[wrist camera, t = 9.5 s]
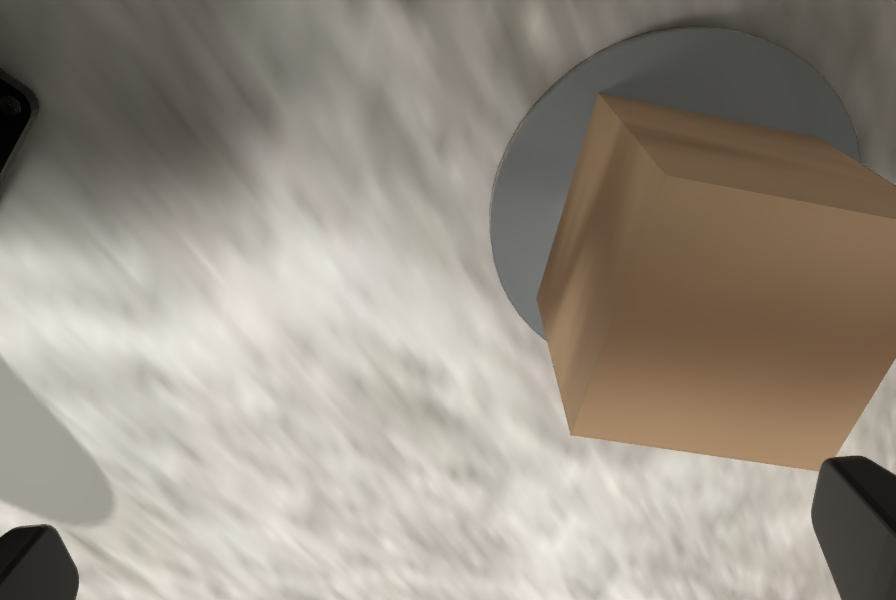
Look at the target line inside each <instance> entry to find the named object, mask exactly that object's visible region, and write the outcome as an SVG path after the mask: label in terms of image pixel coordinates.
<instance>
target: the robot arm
mask: <svg viewBox="0 0 896 600" xmlns="http://www.w3.org/2000/svg"><path fill="white" fill-rule="evenodd" d="M8 96H11V97H14V98H15V99H16V100H17V101H18V102H19V103H20V106H21V112H18V111H16V110H14V109H13V108H12V107H11V106H10V105H9V102H8ZM38 110H39V104H38V99H37V98H36V96H35V94H34V93H33V92H32V91H31V90H30V89H29V88H28V87H27V86H25V85H24V84H22V83H21V82H19V81H18V80H16V79H15V78H13V77H12V76H10V75H9V74H7V73H6V72H4V71H3V70H1V69H0V183H1V181H2V179H3V177H4V175H5V174H6V172H7V170H8V168H9V166H10V164H11V162H12V161H13V159H14V157H15V155H16V153H17V151H18V149H19V148H20V146H21V144H22V142H23V140H24V138H25V136H26V135H27V133H28V131H29V129H30V127H31V125H32V123H33V122H34V120H35V118H36V116H37V114H38ZM811 517H812V524H813V528H814V531H815V534H816V536H817V539H818V541H819V544H820V546H821V549H822V551H823V554H824V556H825V559H826V562H827V564H828V567H829V569H830V572H831V574H832V577H833V579H834V582H835V584H836V587H837V589H838V592H839V595H840V597H841V600H896V475H895V474H893V473H891V472H890V471H888V470H886V469H885V468H883V467H882V466H880V465H878V464H877V463H875V462H873V461H872V460H870V459H868V458H866V457H863V456H845V457H833V458H828V459H826V460H825V461H824V462H823V463H822V464H821V467H820V471H819V475H818V480H817V485H816V489H815V494H814V499H813V503H812V509H811ZM78 587H79V575H78V570H77V568H76V565H75V563H74V562H73V560H72V558H71V556H70V554H69V552H68V550H67V548H66V546H65V544H64V543H63V541H62V539H61V537H60V535H59V533H58V531H57V530H56V529H55V528H54V527H52V526H51V525H47V524H40V525H29V526H19V527H16V528H13V529H11V530H10V531H8V532H7V533H5V534H4V535H3V536H1V537H0V600H76V596H77V592H78Z"/></svg>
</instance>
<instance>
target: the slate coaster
mask: <svg viewBox="0 0 896 600" xmlns="http://www.w3.org/2000/svg"><path fill="white" fill-rule="evenodd" d="M598 93H600V94H605V95H610V96H615V97H620V98H625V99H630V100H635V101H640V102H645V103H650V104H654V105H659V106H664V107H669V108H674V109H679V110H684V111H689V112H694V113H699V114H704V115H709V116H713V117H718V118H723V119H728V120H733V121H738V122H743V123H748V124H753V125H758V126H763V127H768V128H772V129H777V130H782V131H787V132H792V133H797V134H802V135H807V136H812V137H817V138H820V139H822V140H824V141H825V142H827V143H828V144H830V145H832V146H833V147H835V148H836V149H838V150H839V151H841V152H843V153H844V154H846V155H847V156H849V157H851V158H852V159H854V160H855V161H857V162H858V163H860V155H859V149H858V143H857V137H856V134H855V131H854V128H853V126H852V123H851V120H850V117H849V115H848V113H847V111H846V109H845V107H844V105H843V104H842V102H841V100H840V98H839V96H838V95H837V94H836V92H835V91H834V90H833V89H832V87H831V86H830V85H829V83H828V82H827V81H826V80H825V78H824V77H823V76H821V75H820V74H819V73H818V72H817V71H816V70H815V69H814V68H813V67H811V66H810V65H809V64H808V63H807V62H806V61H804V60H802V59H801V58H799V57H798V56H796V55H795V54H793V53H791V52H790V51H788V50H787V49H785V48H782V47H780V46H778V45H776V44H773V43H771V42H769V41H766V40H764V39H762V38H759V37H757V36H755V35H751V34H747V33H743V32H739V31H735V30H732V29H725V28H715V27H706V26H698V27H676V28H670V29H665V30H659V31H653V32H649V33H646V34H642V35H639V36H636V37H633V38H630V39H626V40H624V41H621V42H619V43H617V44H615V45H613V46H610V47H608V48H606V49H604V50H602V51H600V52H598V53H596V54H595V55H593V56H591V57H590V58H588V59H586V60H585V61H583V62H582V63H580V64H578V65H577V66H575V67H574V68H573V69H572V70H570V71H569V72H568V73H566V74H565V75H564V76H563V77H561V78H560V79H559V80H558V81H556V82H555V83H554V84H553V85H552V86H551V87H550V88H549V89H548V90H547V91H546V92H545V93H544V94H543V95H542V96H541V97H540V98H539V99H538V100H537V101H536V103H535V104H534V105H533V107H532V108H531V109H530V111H529V112H528V113H527V114H526V116H525V117H524V118H523V120H522V121H521V122H520V124H519V126H518V127H517V129H516V131H515V133H514V134H513V136H512V138H511V139H510V141H509V143H508V145H507V147H506V150H505V152H504V154H503V157H502V159H501V161H500V164H499V166H498V170H497V173H496V177H495V181H494V184H493V188H492V195H491V202H490V210H489V226H490V238H491V245H492V251H493V258H494V263H495V266H496V269H497V273H498V276H499V279H500V282H501V284H502V286H503V288H504V290H505V292H506V294H507V297H508V299H509V300H510V302H511V303H512V305H513V306H514V308H515V309H516V311H517V312H518V314H519V315H520V316H521V317H522V319H523V320H524V321H525V322H526V323H527V324H528V325H529V326H530V327H531V328H532V330H534V331H535V332H536V333H537V334H538V335H540V336H541V337H542V338H543V339H544V340H546V341H547V339H546V335H545V331H544V327H543V323H542V320H541V316H540V312H539V308H538V304H537V300H536V298H537V294H538V291H539V288H540V284H541V281H542V278H543V274H544V271H545V268H546V264H547V261H548V258H549V254H550V251H551V248H552V244H553V241H554V238H555V234H556V231H557V228H558V224H559V221H560V218H561V214H562V211H563V207H564V204H565V201H566V197H567V194H568V191H569V187H570V184H571V181H572V177H573V174H574V171H575V167H576V164H577V161H578V157H579V154H580V151H581V147H582V144H583V141H584V137H585V134H586V131H587V127H588V124H589V121H590V117H591V114H592V111H593V107H594V104H595V101H596V97H597V94H598Z"/></svg>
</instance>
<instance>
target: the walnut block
mask: <svg viewBox="0 0 896 600" xmlns="http://www.w3.org/2000/svg"><path fill="white" fill-rule="evenodd" d="M536 300H537V304H538V308H539V312H540V316H541V320H542V323H543V327H544V331H545V335H546V339H547V343H548V347H549V351H550V355H551V359H552V363H553V367H554V371H555V375H556V379H557V383H558V387H559V390H560V394H561V398H562V402H563V406H564V410H565V414H566V418H567V422H568V426H569V430H570V434H571V435H575V436H581V437H588V438H595V439H602V440H609V441H616V442H622V443H629V444H636V445H643V446H650V447H656V448H663V449H670V450H677V451H684V452H691V453H697V454H704V455H711V456H718V457H725V458H732V459H738V460H745V461H752V462H759V463H766V464H773V465H779V466H786V467H793V468H800V469H807V470H814V471H820V467H821V464H822V463H823V462H824V461H825V460H826V459H828V458H833V457H835V456H836V455H837V453H838V451H839V450H840V448H841V447H842V445H843V443H844V442H845V440H846V438H847V437H848V435H849V433H850V432H851V430H852V429H853V427H854V425H855V424H856V422H857V420H858V419H859V417H860V416H861V414H862V412H863V411H864V409H865V407H866V406H867V404H868V402H869V401H870V399H871V398H872V396H873V394H874V393H875V391H876V389H877V388H878V386H879V384H880V383H881V381H882V380H883V378H884V376H885V375H886V373H887V371H888V370H889V368H890V367H891V365H892V363H893V362H894V360H895V358H896V186H895V185H893V184H892V183H890V182H889V181H887V180H885V179H884V178H882V177H881V176H879V175H877V174H876V173H874V172H873V171H871V170H870V169H868V168H866V167H865V166H863V165H862V164H860V163H858V162H857V161H855V160H854V159H852V158H851V157H849V156H847V155H846V154H844V153H843V152H841V151H839V150H838V149H836V148H835V147H833V146H832V145H830V144H828V143H827V142H825V141H824V140H822V139H820V138H817V137H812V136H807V135H802V134H797V133H792V132H787V131H782V130H777V129H772V128H768V127H763V126H758V125H753V124H748V123H743V122H738V121H733V120H728V119H723V118H718V117H713V116H709V115H704V114H699V113H694V112H689V111H684V110H679V109H674V108H669V107H664V106H659V105H654V104H650V103H645V102H640V101H635V100H630V99H625V98H620V97H615V96H610V95H605V94H600V93H598V94H597V97H596V101H595V104H594V107H593V111H592V114H591V117H590V121H589V124H588V127H587V131H586V134H585V137H584V141H583V144H582V147H581V151H580V154H579V157H578V161H577V164H576V167H575V171H574V174H573V177H572V181H571V184H570V187H569V191H568V194H567V197H566V201H565V204H564V207H563V211H562V214H561V218H560V221H559V224H558V228H557V231H556V234H555V238H554V241H553V244H552V248H551V251H550V254H549V258H548V261H547V264H546V268H545V271H544V274H543V278H542V281H541V284H540V288H539V291H538V294H537V298H536Z"/></svg>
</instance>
